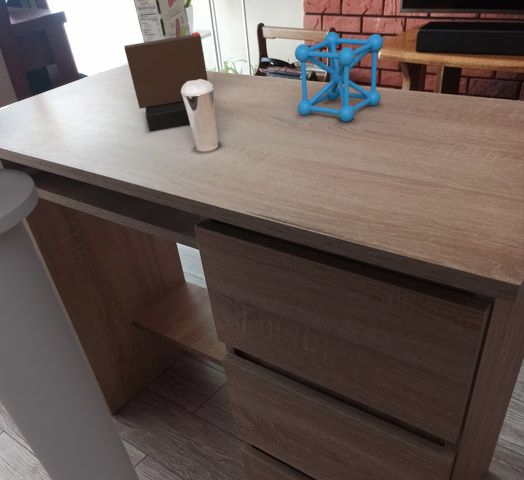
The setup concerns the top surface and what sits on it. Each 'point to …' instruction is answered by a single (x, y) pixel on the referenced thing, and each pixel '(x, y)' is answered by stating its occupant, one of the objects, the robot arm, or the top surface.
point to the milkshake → (201, 112)
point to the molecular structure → (339, 74)
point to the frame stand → (167, 116)
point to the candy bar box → (162, 19)
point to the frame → (165, 68)
